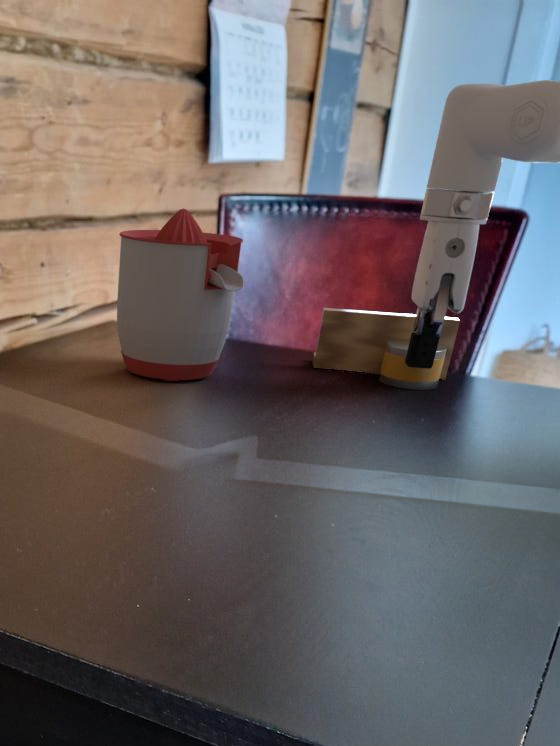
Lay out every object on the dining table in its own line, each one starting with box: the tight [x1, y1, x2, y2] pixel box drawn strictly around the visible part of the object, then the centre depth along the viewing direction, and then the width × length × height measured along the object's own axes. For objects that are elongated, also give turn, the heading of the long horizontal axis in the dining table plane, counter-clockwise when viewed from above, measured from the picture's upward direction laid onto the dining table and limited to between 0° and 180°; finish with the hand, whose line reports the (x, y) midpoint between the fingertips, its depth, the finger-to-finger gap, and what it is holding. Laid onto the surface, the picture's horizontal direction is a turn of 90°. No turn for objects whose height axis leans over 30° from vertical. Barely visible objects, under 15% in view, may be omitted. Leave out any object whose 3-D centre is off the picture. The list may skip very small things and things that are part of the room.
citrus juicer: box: [116, 208, 244, 382], centre depth 111 cm, size 16×17×20 cm
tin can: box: [378, 340, 446, 391], centre depth 116 cm, size 8×8×5 cm
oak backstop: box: [312, 307, 461, 381], centre depth 121 cm, size 18×6×8 cm, turn 79°
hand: (418, 366), depth 111 cm, fingers closed
